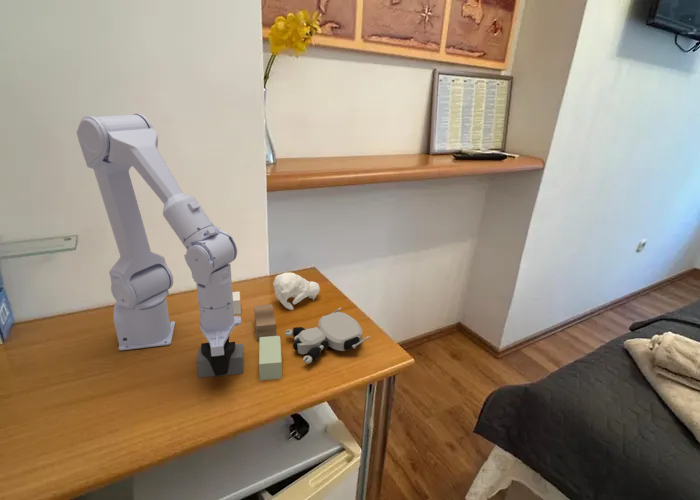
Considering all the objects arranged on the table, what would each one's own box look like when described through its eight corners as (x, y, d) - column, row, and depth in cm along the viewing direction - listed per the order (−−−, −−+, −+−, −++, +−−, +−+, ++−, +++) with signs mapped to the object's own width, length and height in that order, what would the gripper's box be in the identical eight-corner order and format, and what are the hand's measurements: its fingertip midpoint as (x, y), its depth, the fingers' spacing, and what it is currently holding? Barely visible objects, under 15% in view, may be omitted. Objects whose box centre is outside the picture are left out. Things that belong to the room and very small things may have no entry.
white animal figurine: (271, 269, 93) (315, 264, 100) (269, 301, 96) (311, 293, 103) (282, 281, 88) (327, 274, 95) (279, 313, 91) (323, 305, 98)
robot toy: (306, 377, 74) (371, 350, 81) (304, 358, 72) (372, 333, 79) (283, 341, 84) (343, 320, 90) (281, 324, 82) (343, 304, 89)
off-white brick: (204, 318, 88) (203, 303, 87) (205, 309, 92) (204, 294, 90) (241, 314, 91) (240, 300, 89) (240, 305, 94) (239, 291, 92)
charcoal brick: (198, 378, 71) (196, 361, 69) (201, 363, 75) (199, 347, 73) (243, 374, 73) (242, 357, 71) (244, 360, 76) (243, 343, 75)
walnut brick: (276, 339, 83) (276, 324, 81) (257, 342, 82) (256, 326, 80) (272, 318, 90) (272, 304, 88) (254, 320, 89) (254, 305, 87)
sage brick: (281, 379, 72) (281, 362, 71) (259, 381, 71) (259, 364, 70) (280, 351, 79) (279, 335, 78) (260, 353, 79) (259, 337, 77)
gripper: (240, 321, 62) (245, 386, 68) (238, 279, 75) (242, 336, 80) (194, 326, 60) (202, 392, 66) (199, 282, 73) (206, 340, 79)
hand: (221, 362), depth 73 cm, fingers open, 6 cm apart
